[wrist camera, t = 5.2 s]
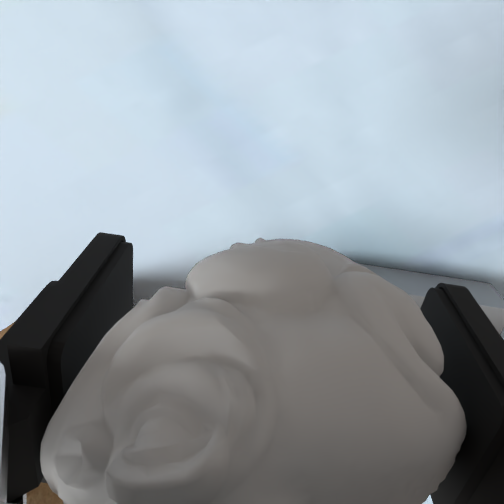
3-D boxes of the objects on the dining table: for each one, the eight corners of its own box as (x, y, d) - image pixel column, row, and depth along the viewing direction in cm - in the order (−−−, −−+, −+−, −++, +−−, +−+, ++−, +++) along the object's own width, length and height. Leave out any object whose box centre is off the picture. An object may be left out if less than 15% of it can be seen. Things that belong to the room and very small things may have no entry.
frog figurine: (134, 166, 10) (-90, 403, 4) (436, 192, 10) (686, 476, 4) (145, 363, 13) (28, 674, 7) (379, 384, 13) (471, 718, 7)
